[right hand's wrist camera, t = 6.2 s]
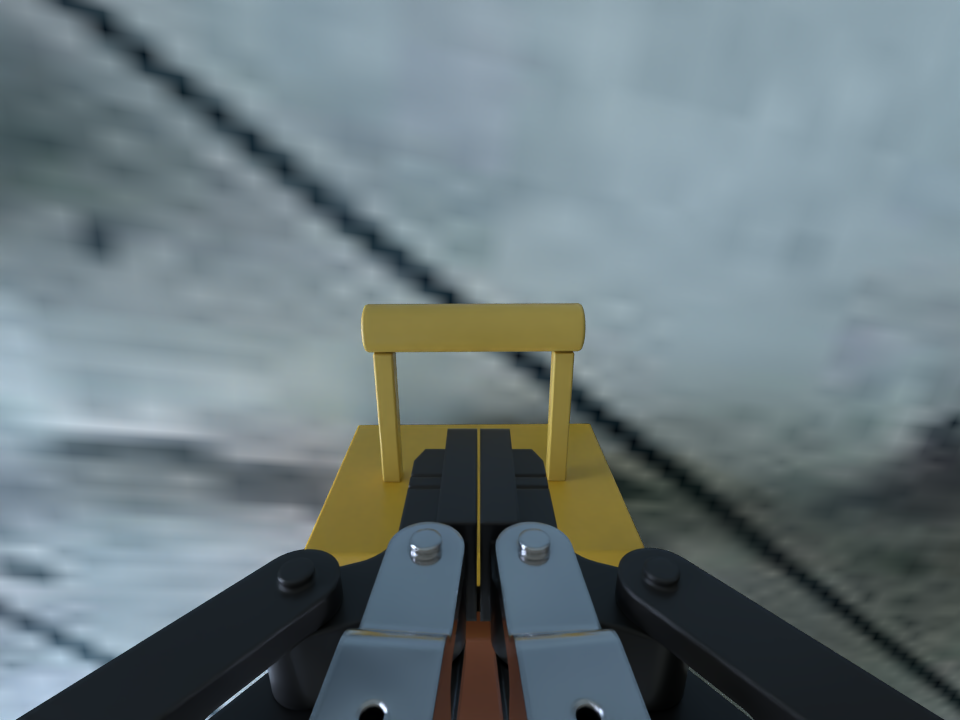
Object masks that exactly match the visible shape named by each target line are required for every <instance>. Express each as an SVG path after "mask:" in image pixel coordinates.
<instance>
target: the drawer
mask: <svg viewBox="0 0 960 720" xmlns="http://www.w3.org/2000/svg"><path fill="white" fill-rule="evenodd" d="M361 335H362V342H363V346H364V348H365V350H366V351H367V352H374V355H373V361H374V373H375V386H376V398H377V411H378V423H379V425H359V426H358V428H357V430H356V432H355V435H354V437H353V439H352V442H351V444H350V446H349V448H348V451H347V453H346V455H345V458H344V460H343V462H342V464H341V467H340V469H339V471H338V474H337V476H336V478H335V480H334V483H333V485H332V487H331V490H330V492H329V494H328V496H327V499H326V501H325V503H324V506H323V508H322V510H321V512H320V515H319V517H318V519H317V522H316V524H315V526H314V528H313V531H312V533H311V535H310V538H309V540H308V542H307V544H306V547H305V549H317V550H322V551H325V552H327V553H329V554H331V555H332V556H334V557H335V558H336V560H337V561H338V563H339V566H344V565H348V564H352V563H356V562H360V561H364V560H367V559H369V558H372V557H374V556H376V555H378V554H380V553H381V552H383V551H384V550H385V549H387V546H388V544H389V542H390V540H391V538H392V537H393V536H394V535H395V534H396V533H397V532H398V531H399V526H400V522H401V517H402V513H403V508H404V504H405V499H406V495H407V490H408V488H409V481H410V477H411V472H412V468H413V463H414V460H415V459H416V458H417V457H418V456H419V455H420V454H421V453H422V452H423V451H424V450H425V449H445V446H446V438H447V430H448V428H477V475H478V503H477V612H480V429H510V435H511V444H512V449H532V450H533V451H534V452H535V453H536V454H537V455H538V456H539V457H540V458H541V459H542V460H543V462H544V467H545V471H546V477H547V481H548V486H549V490H550V495H551V500H552V504H553V509H554V514H555V519H556V523H557V528H558V529H559V530H560V531H562V532H563V533H564V534H565V535H566V536H567V537H568V538H569V540H570V542H571V544H572V546H573V549H574V552H575V553H576V554H578V555H580V556H582V557H584V558H587V559H589V560H592V561H596V562H599V563H603V564H608V565H612V566H616V567H618V565H619V562H620V560H621V559H622V557H623V556H624V555H626V554H627V553H629V552H630V551H633V550H636V549H641V548H644V545H643V543H642V541H641V539H640V536H639V534H638V532H637V529H636V527H635V525H634V523H633V520H632V518H631V516H630V514H629V511H628V509H627V507H626V505H625V502H624V500H623V498H622V495H621V493H620V491H619V489H618V486H617V484H616V482H615V480H614V477H613V475H612V473H611V470H610V468H609V466H608V464H607V461H606V459H605V457H604V455H603V452H602V450H601V448H600V445H599V443H598V441H597V439H596V436H595V434H594V432H593V430H592V427H591V425H590V424H570V409H571V394H572V379H573V365H574V353H573V351H579V350H581V349H582V347H583V344H584V339H585V314H584V310H583V307H582V305H581V304H579V303H539V304H368V305H365V307H364V309H363V312H362V319H361ZM510 351H552V355H551V375H550V395H549V414H548V424H459V425H400V415H399V399H398V384H397V368H396V353H395V352H510Z"/></svg>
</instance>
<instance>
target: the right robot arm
mask: <svg viewBox="0 0 960 720" xmlns="http://www.w3.org/2000/svg"><path fill="white" fill-rule="evenodd" d="M477 503H478V475H477V428H448V430H447V438H446V446H445V449H425V450H424V451H423V452H422V453H421V454H420V455H419V456H418V457H417V458H416V459H415V460H414V463H413V468H412V472H411V477H410V481H409V488H408V490H407V495H406V499H405V504H404V508H403V513H402V517H401V522H400V526H399V531H398V532H397V533H396V534H395V535H394V536H393V537H392V538H391V540H390V542H389V544H388V546H387V549H385V550H384V551H383V552H381V553H380V554H378V555H376V556H374V557H372V558H369V559H367V560H364V561H360V562H356V563H352V564H348V565H344V566H339V563H338V561H337V560H336V558H335V557H334V556H332V555H331V554H329V553H327V552H325V551H322V550H317V549H303V550H297V551H293V552H290V553H287V554H284V555H282V556H280V557H278V558H276V559H274V560H273V561H271V562H269V563H268V564H266V565H265V566H263V567H261V568H260V569H258V570H256V571H255V572H253V573H252V574H250V575H248V576H247V577H245V578H244V579H242V580H240V581H239V582H237V583H235V584H234V585H232V586H231V587H229V588H227V589H226V590H224V591H223V592H221V593H219V594H218V595H216V596H215V597H213V598H211V599H210V600H208V601H206V602H205V603H203V604H202V605H200V606H198V607H197V608H195V609H194V610H192V611H190V612H189V613H187V614H186V615H184V616H182V617H181V618H179V619H177V620H176V621H174V622H173V623H171V624H169V625H168V626H166V627H165V628H163V629H161V630H160V631H158V632H156V633H155V634H153V635H152V636H150V637H148V638H147V639H145V640H144V641H142V642H140V643H139V644H137V645H136V646H134V647H132V648H131V649H129V650H127V651H126V652H124V653H123V654H121V655H119V656H118V657H116V658H115V659H113V660H111V661H110V662H108V663H106V664H105V665H103V666H102V667H100V668H98V669H97V670H95V671H94V672H92V673H90V674H89V675H87V676H86V677H84V678H82V679H81V680H79V681H77V682H76V683H74V684H73V685H71V686H69V687H68V688H66V689H65V690H63V691H61V692H60V693H58V694H57V695H55V696H53V697H52V698H50V699H48V700H47V701H45V702H44V703H42V704H40V705H39V706H37V707H36V708H34V709H32V710H31V711H29V712H27V713H26V714H24V715H23V716H21V717H19V718H18V719H16V720H205V719H206V718H207V717H208V716H209V715H210V714H211V713H212V712H213V711H214V710H216V709H217V708H218V707H219V706H221V705H222V704H223V703H225V702H226V701H227V700H228V699H230V698H231V697H232V696H234V695H235V694H236V693H237V692H239V691H240V690H241V689H242V688H244V687H245V686H246V685H248V684H249V683H250V682H251V681H253V680H254V679H255V678H256V677H258V676H259V675H260V674H262V673H263V672H264V671H265V670H267V669H268V673H267V674H265V675H264V676H263V677H262V678H260V679H259V680H258V681H256V682H255V683H254V684H253V685H251V686H250V687H249V688H248V689H246V690H245V691H244V692H243V693H241V694H240V695H239V696H237V697H236V698H235V699H234V700H232V701H231V702H230V703H229V704H227V705H226V706H225V707H224V708H222V709H221V710H220V711H218V712H217V713H216V714H215V715H213V716H212V717H211V718H210V719H208V720H459V718H460V709H461V700H462V691H463V682H464V673H465V664H466V621H477ZM480 621H490V625H491V643H492V646H493V649H494V664H495V673H496V682H497V691H498V700H499V709H500V718H501V720H752V719H750V718H749V717H748V716H747V715H745V714H744V713H743V712H742V711H740V710H739V709H738V708H736V707H735V706H734V705H733V704H731V703H730V702H729V701H728V700H726V699H725V698H724V697H723V696H721V695H720V694H719V693H717V692H716V691H715V690H714V689H712V688H711V687H710V686H709V685H707V684H706V683H705V682H704V681H702V680H701V679H700V678H698V677H697V676H696V675H695V674H693V673H692V672H691V671H690V670H688V669H689V667H691V668H692V669H693V670H695V671H696V672H697V673H698V674H700V675H701V676H702V677H703V678H705V679H706V680H707V681H709V682H710V683H711V684H712V685H714V686H715V687H716V688H718V689H719V690H720V691H721V692H723V693H724V694H725V695H726V696H728V697H729V698H730V699H732V700H733V701H734V702H735V703H737V704H738V705H739V706H741V707H742V708H743V709H744V710H745V711H747V712H748V713H749V714H750V715H751V716H752V718H753V719H754V720H944V719H942V718H941V717H939V716H937V715H936V714H934V713H932V712H931V711H929V710H928V709H926V708H924V707H923V706H921V705H920V704H918V703H916V702H915V701H913V700H912V699H910V698H908V697H907V696H905V695H903V694H902V693H900V692H899V691H897V690H895V689H894V688H892V687H891V686H889V685H887V684H886V683H884V682H883V681H881V680H879V679H878V678H876V677H874V676H873V675H871V674H870V673H868V672H866V671H865V670H863V669H862V668H860V667H858V666H857V665H855V664H853V663H852V662H850V661H849V660H847V659H845V658H844V657H842V656H841V655H839V654H837V653H836V652H834V651H833V650H831V649H829V648H828V647H826V646H824V645H823V644H821V643H820V642H818V641H816V640H815V639H813V638H812V637H810V636H808V635H807V634H805V633H804V632H802V631H800V630H799V629H797V628H795V627H794V626H792V625H791V624H789V623H787V622H786V621H784V620H783V619H781V618H779V617H778V616H776V615H774V614H773V613H771V612H770V611H768V610H766V609H765V608H763V607H762V606H760V605H758V604H757V603H755V602H754V601H752V600H750V599H749V598H747V597H745V596H744V595H742V594H741V593H739V592H737V591H736V590H734V589H733V588H731V587H729V586H728V585H726V584H724V583H723V582H721V581H720V580H718V579H716V578H715V577H713V576H712V575H710V574H708V573H707V572H705V571H704V570H702V569H700V568H699V567H697V566H695V565H694V564H692V563H691V562H689V561H687V560H686V559H684V558H682V557H681V556H679V555H677V554H674V553H672V552H669V551H666V550H662V549H657V548H641V549H636V550H633V551H630V552H629V553H627V554H626V555H624V556H623V557H622V559H621V560H620V562H619V565H618V567H616V566H612V565H608V564H603V563H599V562H596V561H592V560H589V559H587V558H584V557H582V556H580V555H578V554H576V553H575V552H574V549H573V546H572V544H571V542H570V540H569V538H568V537H567V536H566V535H565V534H564V533H563V532H562V531H560V530H559V529H558V528H557V523H556V519H555V514H554V509H553V504H552V500H551V495H550V490H549V486H548V481H547V477H546V471H545V467H544V462H543V460H542V459H541V458H540V457H539V456H538V455H537V454H536V453H535V452H534V451H533V450H532V449H512V444H511V435H510V429H480Z"/></svg>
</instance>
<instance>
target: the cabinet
mask: <svg viewBox="0 0 960 720" xmlns="http://www.w3.org/2000/svg"><path fill="white" fill-rule="evenodd" d="M459 720H501V718H500V709H499V700H498V691H497V682H496V673H495V664H494V649H493V646H492V643H491V625H490V621H480V612H477V621H466V664H465V673H464V682H463V691H462V700H461V709H460V718H459Z"/></svg>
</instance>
